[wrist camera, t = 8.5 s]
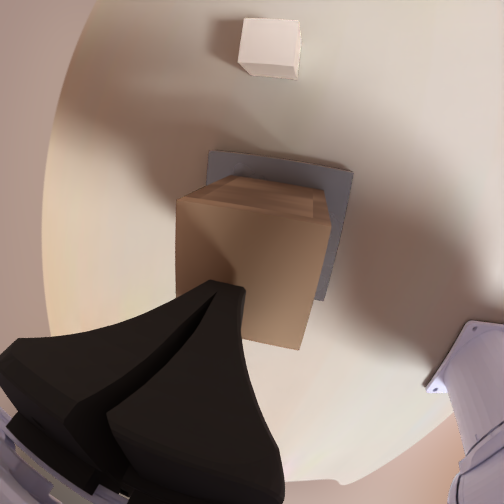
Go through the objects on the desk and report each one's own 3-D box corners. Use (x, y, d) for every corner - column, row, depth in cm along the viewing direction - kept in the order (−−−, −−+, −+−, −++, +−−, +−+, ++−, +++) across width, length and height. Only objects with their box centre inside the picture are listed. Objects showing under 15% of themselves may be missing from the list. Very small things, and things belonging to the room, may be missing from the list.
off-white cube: (301, 40, 12) (298, 20, 9) (297, 80, 13) (293, 66, 10) (256, 37, 12) (244, 18, 10) (251, 75, 13) (237, 62, 11)
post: (351, 171, 14) (372, 188, 9) (323, 294, 18) (323, 355, 12) (213, 150, 16) (165, 157, 10) (205, 270, 19) (166, 320, 14)
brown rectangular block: (323, 190, 14) (331, 226, 8) (306, 275, 17) (298, 350, 11) (230, 175, 15) (176, 200, 9) (222, 259, 17) (176, 321, 11)
